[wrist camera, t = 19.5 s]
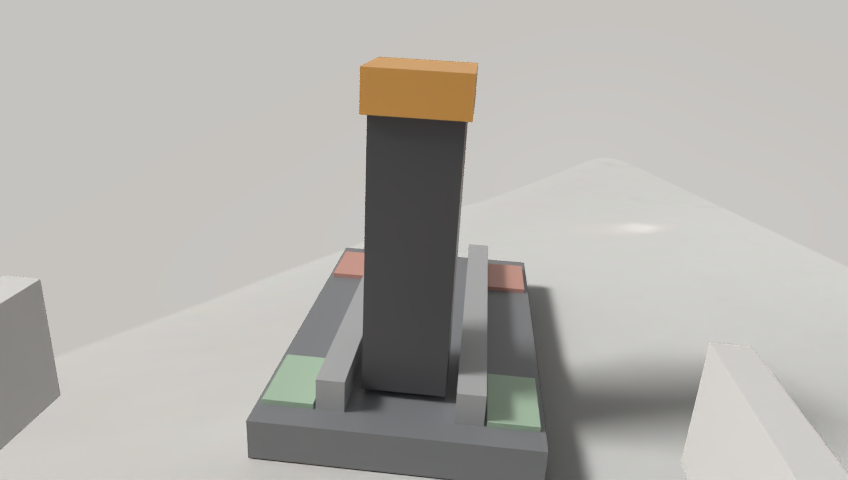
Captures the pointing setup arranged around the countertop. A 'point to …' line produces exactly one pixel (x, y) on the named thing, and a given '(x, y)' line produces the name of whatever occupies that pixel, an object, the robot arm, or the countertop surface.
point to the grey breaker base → (405, 412)
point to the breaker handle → (412, 217)
